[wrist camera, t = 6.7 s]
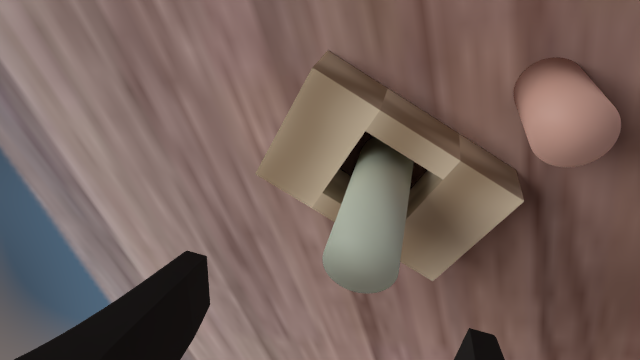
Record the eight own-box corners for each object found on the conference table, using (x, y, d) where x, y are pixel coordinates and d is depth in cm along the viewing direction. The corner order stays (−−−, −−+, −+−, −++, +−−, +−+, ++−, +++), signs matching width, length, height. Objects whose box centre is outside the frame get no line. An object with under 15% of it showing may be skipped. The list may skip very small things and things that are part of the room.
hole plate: (516, 170, 19) (524, 201, 17) (434, 247, 22) (432, 281, 20) (327, 50, 18) (312, 67, 16) (273, 149, 21) (255, 174, 19)
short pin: (602, 81, 16) (641, 123, 13) (550, 131, 17) (573, 180, 14) (547, 44, 16) (573, 77, 13) (499, 98, 17) (511, 140, 14)
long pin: (419, 141, 19) (406, 247, 13) (406, 187, 21) (389, 301, 15) (364, 129, 20) (327, 227, 13) (356, 175, 21) (318, 281, 15)
